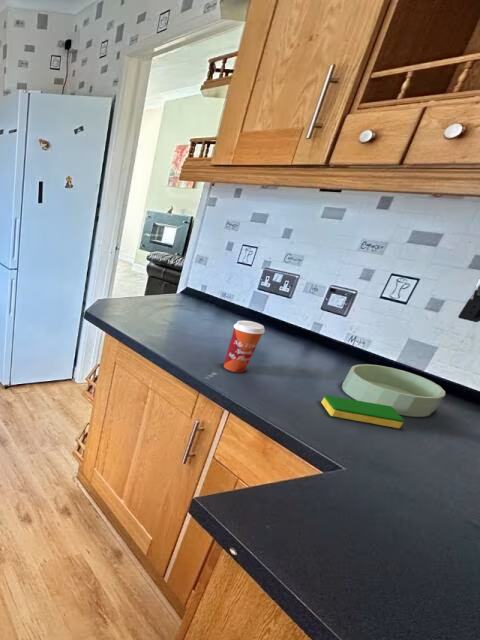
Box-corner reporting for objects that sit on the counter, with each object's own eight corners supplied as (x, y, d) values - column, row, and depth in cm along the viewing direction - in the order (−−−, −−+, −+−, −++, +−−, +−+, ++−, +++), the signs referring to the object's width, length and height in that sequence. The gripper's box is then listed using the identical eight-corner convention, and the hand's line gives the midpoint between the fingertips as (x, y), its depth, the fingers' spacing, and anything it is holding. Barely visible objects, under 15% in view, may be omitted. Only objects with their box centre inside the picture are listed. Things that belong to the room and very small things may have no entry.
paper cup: (223, 372, 122) (240, 327, 115) (216, 361, 128) (231, 318, 122) (252, 375, 120) (271, 330, 114) (244, 364, 127) (260, 321, 120)
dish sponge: (400, 429, 98) (405, 420, 96) (330, 416, 102) (334, 408, 101) (386, 414, 103) (391, 405, 102) (320, 402, 108) (324, 394, 107)
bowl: (446, 407, 107) (459, 389, 104) (411, 423, 100) (424, 404, 97) (363, 376, 121) (372, 360, 119) (327, 388, 114) (336, 371, 112)
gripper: (545, 240, 75) (485, 328, 83) (577, 235, 81) (519, 317, 90) (486, 233, 81) (436, 316, 89) (521, 229, 87) (471, 307, 96)
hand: (478, 317), depth 89 cm, fingers open, 9 cm apart
